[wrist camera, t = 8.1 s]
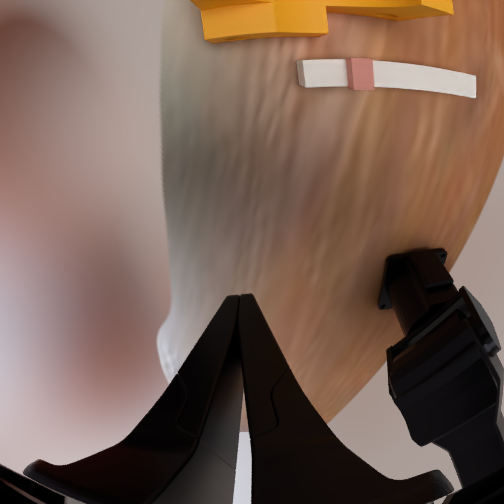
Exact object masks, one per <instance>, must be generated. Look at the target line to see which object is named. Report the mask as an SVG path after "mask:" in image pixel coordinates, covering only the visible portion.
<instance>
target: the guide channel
mask: <svg viewBox="0 0 504 504" xmlns="http://www.w3.org/2000/svg"><path fill="white" fill-rule="evenodd" d="M296 63H297V71H298V79H299V85H301V86H303V87H305V88H308V87H334V86H348V88H350V89H353V90H375V89H374V87H390V88H405V89H416V90H426V91H434V92H442V93H448V94H455V95H461V96H467V97H472V98H476V76H473V75H469V74H465V73H460V72H455V71H451V70H445V69H440V68H434V67H428V66H421V65H414V64H406V63H397V62H386V61H373V59H368V58H346V60H345V59H325V60H299V61H296Z"/></svg>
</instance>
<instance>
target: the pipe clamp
mask: <svg viewBox="0 0 504 504" xmlns="http://www.w3.org/2000/svg"><path fill="white" fill-rule="evenodd" d="M190 1H191V2H193V3H194V4H195V5H196V6H197V7H198V8H199V9H200V10H201V15H202V23H203V31H204V38H205V40H206V41H208V42H210V43H212V44H214V43H220V42H228V41H236V40H245V39H256V38H270V37H320V36H323V35H326V34H328V23H327V13H342V14H353V15H362V16H369V17H376V18H383V19H389V20H394V21H403V20H409V19H416V18H424V17H433V16H443V15H454V13H453V5H452V0H190ZM326 12H327V13H326Z"/></svg>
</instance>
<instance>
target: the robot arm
mask: <svg viewBox="0 0 504 504" xmlns="http://www.w3.org/2000/svg"><path fill="white" fill-rule="evenodd" d="M446 257H447V252H446V251H445V249H437V250H430V251H423V252H416V253H408V254H401V255H394V256H390V257H388V258H387V260H386V265H385V270H384V276H383V281H382V286H381V291H380V295H379V300H378V308H379V309H380V310H383V309H389V308H393V309H394V311H395V314H396V316H397V318H398V321H399V323H400V326H401V328H402V331H403V333H404V336H405V337H404V338H403V339H402V340H400V341H399V342H398V343H396V344H395V345H394V346H391V347H389V348H388V349H387V350H386V353H387V367H388V385H389V394H390V395H391V397H392V399H393V401H394V403H395V404H396V406H397V407H398V408H399V410H400V411H401V413H402V415H403V417H404V419H405V421H406V424H407V427H408V429H409V433H410V436H411V438H412V440H413V441H414V442H416V443H417V444H418V445H419V446H421V447H422V446H425V445H427V444H429V443H433V444H435V445H437V446H439V447H441V448H442V449H444V450H446V451H447V452H448V453H449V455H450V457H451V460H452V462H453V465H454V467H455V470H456V472H457V475H458V478H459V481H460V483H461V486H462V489H460V490H458V491H456V492H454V493H451V492H453V491H454V488H453V486H452V484H451V483H450V482H449V480H448V479H447V478H446V477H445V476H444V475H443V474H442V472H441V471H440V470H433V471H430V472H427V473H423V474H421V475H418V476H415V477H412V478H409V479H404V480H393V479H389V478H387V477H386V476H384V475H382V474H381V473H379V472H378V471H377V470H375V469H374V468H373V467H371V466H370V465H369V464H367V463H366V462H365V461H363V460H362V459H361V458H360V457H358V456H357V455H356V454H354V453H353V452H352V451H351V450H349V449H348V448H347V447H346V446H345V445H344V444H343V443H342V442H341V441H340V440H339V439H338V438H337V437H336V436H335V434H334V433H333V432H332V431H331V429H330V428H329V427H328V425H327V424H326V423H325V421H324V420H323V419H322V418H321V416H320V415H319V414H318V412H317V411H316V410H315V408H314V407H313V405H312V404H311V403H310V401H309V400H308V398H307V397H306V395H305V394H304V392H303V391H302V389H301V387H300V386H299V384H298V382H297V380H296V379H295V377H294V375H293V373H292V371H291V369H290V367H289V365H288V363H287V361H286V359H285V357H284V355H283V353H282V351H281V349H280V347H279V345H278V343H277V341H276V339H275V338H274V336H273V334H272V332H271V330H270V328H269V326H268V324H267V322H266V320H265V318H264V316H263V314H262V312H261V310H260V307H259V305H258V303H257V301H256V299H255V297H254V295H253V294H251V293H250V294H241V295H240V296H239V295H229V296H227V297H226V298H225V300H224V301H223V303H222V304H221V306H220V308H219V309H218V311H217V312H216V314H215V315H214V317H213V318H212V320H211V321H210V323H209V325H208V326H207V328H206V329H205V331H204V332H203V334H202V335H201V337H200V338H199V340H198V342H197V343H196V345H195V346H194V348H193V349H192V351H191V352H190V354H189V355H188V357H187V358H186V360H185V362H184V363H183V365H182V366H181V368H180V369H179V371H178V374H176V375H175V377H174V378H173V380H172V381H171V383H170V384H169V386H168V387H167V389H166V390H165V391H164V393H163V394H162V396H161V397H160V398H159V399H158V401H157V402H156V403H155V404H154V406H153V407H152V408H151V409H150V410H149V412H148V413H147V414H146V415H145V416H144V418H143V419H142V420H141V421H140V422H139V423H138V425H137V426H136V427H135V428H134V429H133V431H132V432H131V433H130V434H129V435H128V436H127V437H126V438H125V439H124V440H122V441H121V442H119V443H118V444H116V445H114V446H112V447H110V448H107V449H105V450H103V451H101V452H98V453H96V454H94V455H91V456H89V457H86V458H84V459H81V460H79V461H76V462H74V463H70V464H67V465H53V464H50V463H48V462H46V461H43V460H41V459H38V460H36V461H35V462H33V463H31V464H30V465H28V466H27V467H26V468H25V470H24V471H23V474H24V475H25V476H27V477H29V478H31V479H32V480H31V479H29V478H27V477H25V476H23V475H21V474H19V473H17V472H15V471H13V470H11V469H9V468H7V467H5V466H3V465H1V464H0V504H232V503H233V494H234V484H235V474H236V471H235V470H236V463H237V452H238V442H239V431H240V420H241V410H242V399H243V388H244V394H245V403H246V411H247V419H248V428H249V435H250V439H251V440H250V443H251V454H252V486H251V488H252V489H251V504H434V502H433V501H435V500H437V499H439V498H442V497H444V496H446V495H447V497H446V498H445V500H444V502H443V503H442V504H504V417H503V415H502V412H501V404H502V395H503V383H504V382H503V381H504V368H503V366H502V364H501V362H500V360H499V358H498V356H497V352H499V351H500V350H501V346H500V343H499V340H498V337H497V334H496V332H495V329H494V326H493V324H492V322H491V320H490V318H489V317H488V315H487V313H486V312H485V310H484V309H483V307H482V305H481V304H480V303H479V302H478V301H477V300H476V298H475V297H474V296H473V295H472V294H471V293H470V292H469V291H468V290H467V289H466V288H465V287H464V286H462V287H461V288H460V289H459V291H457V289H456V287H455V285H454V284H453V279H452V277H451V276H450V274H449V272H448V271H447V269H446V268H445V266H444V263H445V260H446ZM392 261H393V262H392ZM33 480H34V481H33ZM35 481H36V482H35ZM56 491H57V492H56ZM58 492H59V493H58ZM450 493H451V494H450ZM448 494H449V495H448Z"/></svg>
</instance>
